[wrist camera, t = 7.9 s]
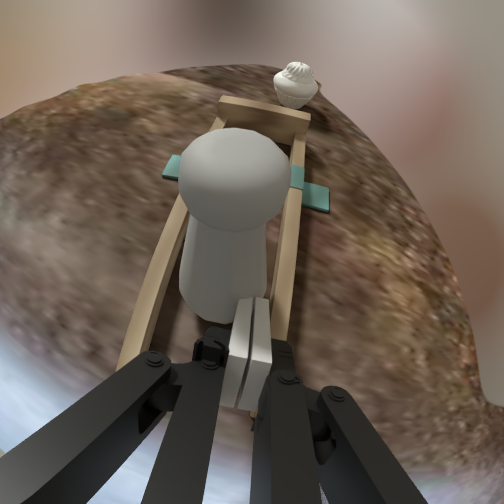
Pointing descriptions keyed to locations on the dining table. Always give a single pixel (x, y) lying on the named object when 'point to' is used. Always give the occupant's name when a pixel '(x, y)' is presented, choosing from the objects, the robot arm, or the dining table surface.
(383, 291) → the dining table surface
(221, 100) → the guide rails
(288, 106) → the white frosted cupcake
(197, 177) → the salt shaker
